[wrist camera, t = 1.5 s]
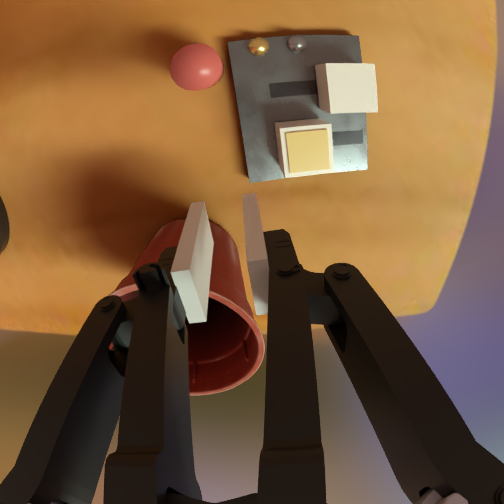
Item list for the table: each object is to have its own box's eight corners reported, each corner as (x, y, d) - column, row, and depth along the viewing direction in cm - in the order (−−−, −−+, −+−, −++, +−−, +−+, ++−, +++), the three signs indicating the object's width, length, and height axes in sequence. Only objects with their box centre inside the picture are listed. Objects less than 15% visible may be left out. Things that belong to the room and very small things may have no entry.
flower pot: (150, 306, 45) (127, 394, 31) (120, 208, 36) (65, 287, 22) (257, 299, 45) (267, 392, 31) (249, 193, 36) (260, 274, 22)
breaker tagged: (279, 166, 32) (285, 178, 29) (274, 122, 30) (279, 128, 26) (323, 161, 32) (334, 173, 29) (320, 118, 30) (332, 124, 26)
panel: (249, 178, 35) (249, 185, 33) (227, 43, 26) (227, 41, 24) (362, 165, 34) (370, 171, 33) (353, 37, 26) (361, 35, 24)
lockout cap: (186, 92, 29) (174, 95, 23) (180, 55, 27) (166, 49, 21) (226, 84, 29) (224, 85, 23) (220, 47, 27) (217, 38, 21)
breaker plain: (319, 109, 29) (330, 113, 26) (314, 64, 26) (325, 63, 23) (362, 107, 29) (377, 112, 26) (359, 64, 26) (374, 64, 23)
